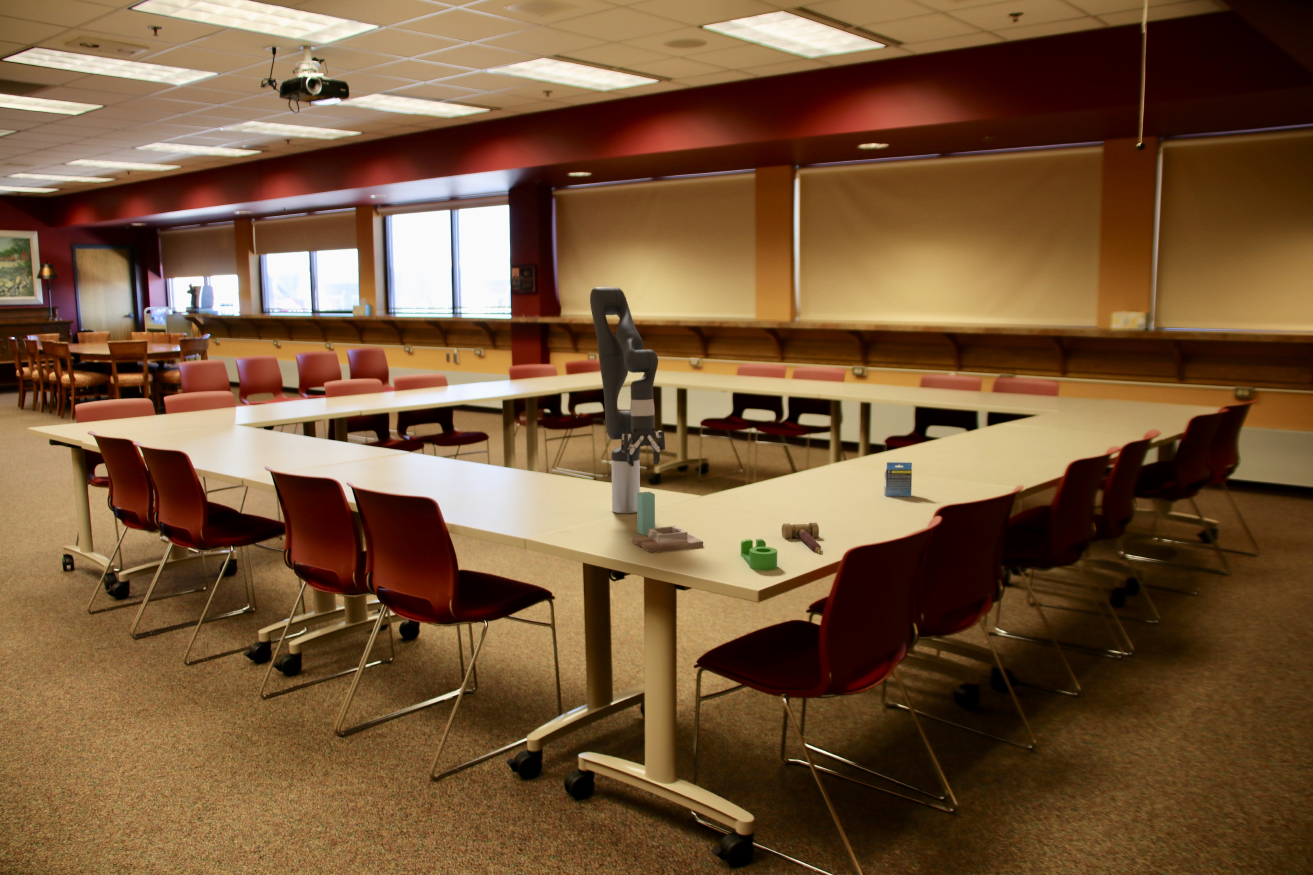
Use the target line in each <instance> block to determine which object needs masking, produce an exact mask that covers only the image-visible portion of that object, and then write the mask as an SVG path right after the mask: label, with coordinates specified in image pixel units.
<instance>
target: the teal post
mask: <svg viewBox="0 0 1313 875" xmlns="http://www.w3.org/2000/svg"><path fill="white" fill-rule="evenodd" d="M655 510H656V494H655V493H654V492H652V491H642V492H641V491H640V493H637V512H636V519H637V520H636V523H637V524H636V525H637V526H636V527H637V528H636V529H637V531H636V532H637V533H638V534H640V535H641V536H647V535H648V529H652V528H656V511H655Z"/></svg>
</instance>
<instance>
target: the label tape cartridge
mask: <svg viewBox="0 0 1313 875" xmlns="http://www.w3.org/2000/svg"><path fill="white" fill-rule="evenodd" d="M897 466H898V467H897ZM912 466H913V462H901V461H900V462H899V461H898V462H895V461H893V462H889V461H888V462H886V469H885V471H884V482H883V484H884V488H883V490H884V492H883V495H884V496H885V497H886V498H887V497H905V498H907V497H908V498H911V497H912V485H913V484H912V481H913V480H912V479H913V478H912V477H913V469H912V468H913V467H912Z"/></svg>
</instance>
